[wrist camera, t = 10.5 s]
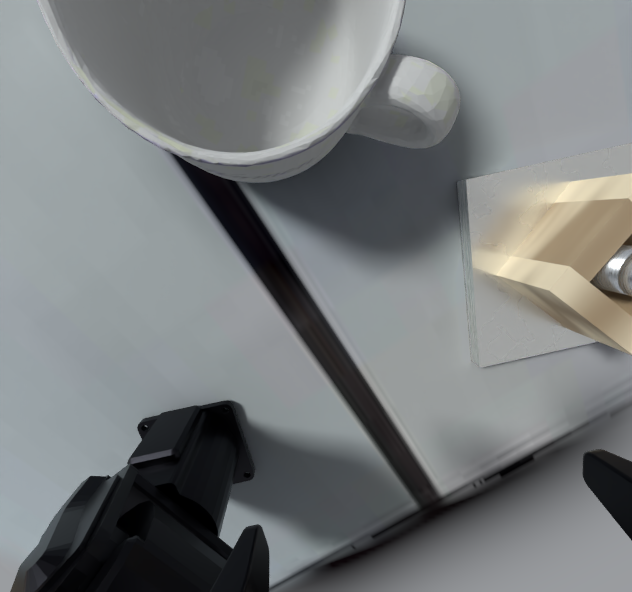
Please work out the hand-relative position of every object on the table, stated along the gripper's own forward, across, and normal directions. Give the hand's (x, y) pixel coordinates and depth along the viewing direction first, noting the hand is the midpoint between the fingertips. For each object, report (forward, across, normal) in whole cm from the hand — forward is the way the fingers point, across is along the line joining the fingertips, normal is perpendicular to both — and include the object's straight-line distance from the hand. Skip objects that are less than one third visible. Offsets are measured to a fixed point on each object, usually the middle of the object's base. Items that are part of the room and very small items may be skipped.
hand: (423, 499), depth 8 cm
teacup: (+12, +1, -14) cm, 19 cm away
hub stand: (+12, -14, -2) cm, 19 cm away
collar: (+11, -14, -2) cm, 18 cm away
